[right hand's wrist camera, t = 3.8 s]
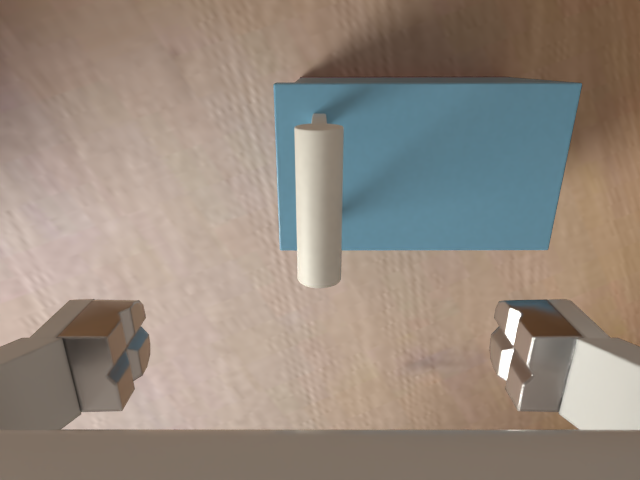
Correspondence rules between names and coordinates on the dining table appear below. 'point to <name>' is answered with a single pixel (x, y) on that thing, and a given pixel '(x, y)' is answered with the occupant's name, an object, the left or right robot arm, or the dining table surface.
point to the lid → (418, 167)
